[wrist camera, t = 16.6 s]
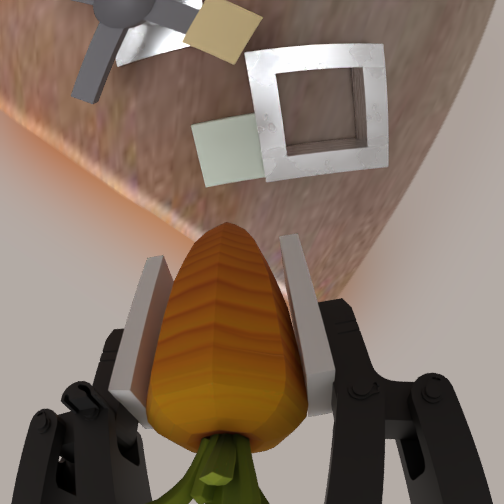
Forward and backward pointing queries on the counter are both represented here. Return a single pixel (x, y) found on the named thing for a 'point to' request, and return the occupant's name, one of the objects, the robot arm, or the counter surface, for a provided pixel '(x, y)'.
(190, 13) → the handwheel
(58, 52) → the counter surface
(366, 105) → the gray square frame
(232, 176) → the pad
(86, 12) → the counter surface
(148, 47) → the square base pedestal
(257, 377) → the carrot
